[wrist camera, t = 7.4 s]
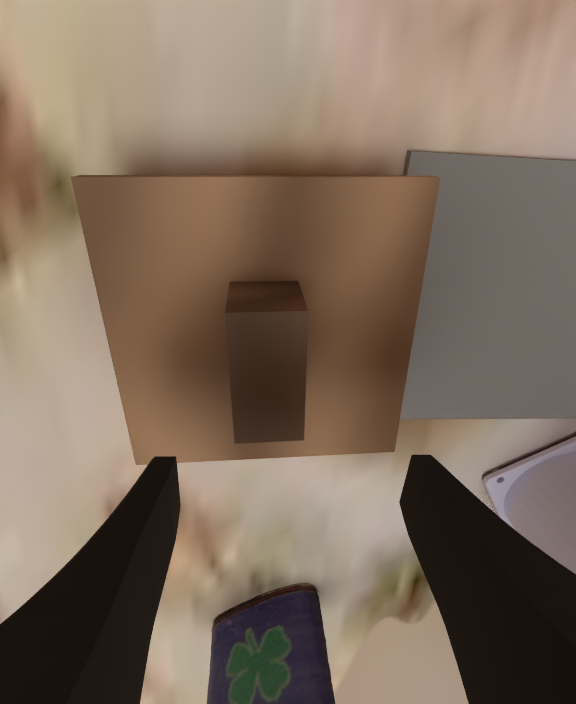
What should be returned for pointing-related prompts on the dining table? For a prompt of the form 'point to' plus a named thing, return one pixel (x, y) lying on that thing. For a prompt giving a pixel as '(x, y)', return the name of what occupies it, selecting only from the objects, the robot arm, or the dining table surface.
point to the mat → (496, 291)
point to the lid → (258, 308)
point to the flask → (271, 651)
